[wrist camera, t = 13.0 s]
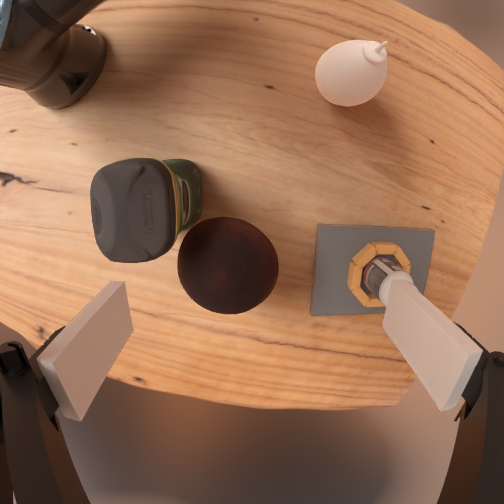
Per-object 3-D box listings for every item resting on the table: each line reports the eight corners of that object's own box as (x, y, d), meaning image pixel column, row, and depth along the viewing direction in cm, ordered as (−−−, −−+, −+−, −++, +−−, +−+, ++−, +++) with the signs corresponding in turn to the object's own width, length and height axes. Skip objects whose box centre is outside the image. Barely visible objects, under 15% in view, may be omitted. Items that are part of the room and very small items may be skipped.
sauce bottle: (364, 111, 36) (432, 82, 19) (313, 115, 36) (359, 79, 19) (352, 63, 34) (409, 12, 16) (302, 65, 34) (335, 4, 17)
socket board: (317, 223, 40) (322, 227, 38) (430, 229, 41) (440, 233, 38) (309, 312, 44) (313, 321, 42) (416, 306, 45) (424, 314, 42)
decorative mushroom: (200, 282, 43) (179, 336, 28) (189, 209, 40) (156, 232, 25) (274, 274, 43) (286, 327, 28) (267, 200, 40) (277, 218, 25)
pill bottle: (369, 295, 42) (395, 325, 33) (356, 268, 41) (382, 295, 32) (397, 277, 42) (428, 303, 32) (385, 249, 40) (417, 271, 31)
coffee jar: (148, 162, 38) (77, 161, 20) (202, 157, 38) (163, 148, 20) (152, 228, 41) (89, 271, 23) (205, 226, 41) (171, 271, 23)
